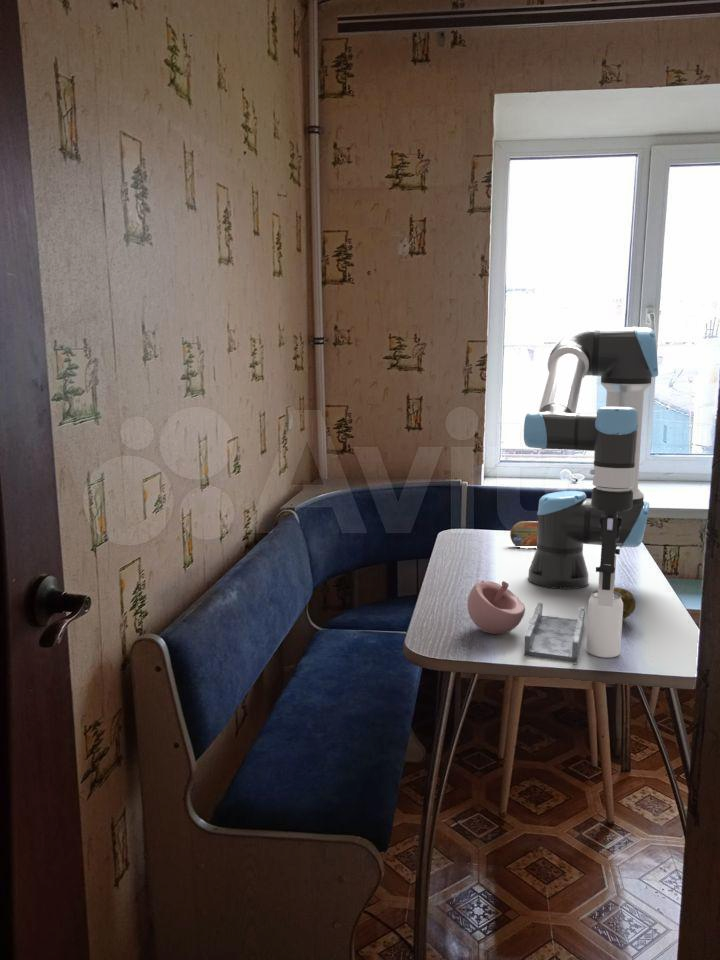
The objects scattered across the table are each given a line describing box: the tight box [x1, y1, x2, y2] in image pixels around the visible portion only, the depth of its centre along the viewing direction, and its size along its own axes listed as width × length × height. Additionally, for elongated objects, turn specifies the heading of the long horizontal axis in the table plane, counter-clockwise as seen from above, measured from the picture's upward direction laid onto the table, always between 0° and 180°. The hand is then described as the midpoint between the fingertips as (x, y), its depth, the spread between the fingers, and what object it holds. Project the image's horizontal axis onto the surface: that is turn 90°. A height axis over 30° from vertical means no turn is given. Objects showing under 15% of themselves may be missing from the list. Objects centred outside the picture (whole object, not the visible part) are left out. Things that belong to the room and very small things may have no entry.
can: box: [585, 589, 623, 659], centre depth 150 cm, size 6×6×12 cm
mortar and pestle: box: [466, 580, 526, 635], centre depth 161 cm, size 12×12×11 cm
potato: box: [589, 587, 637, 620], centre depth 170 cm, size 8×13×8 cm, turn 175°
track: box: [523, 601, 586, 663], centre depth 158 cm, size 22×10×4 cm, turn 160°
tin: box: [509, 520, 538, 547], centre depth 233 cm, size 15×3×8 cm, turn 88°
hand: (606, 595), depth 149 cm, fingers open, 13 cm apart
